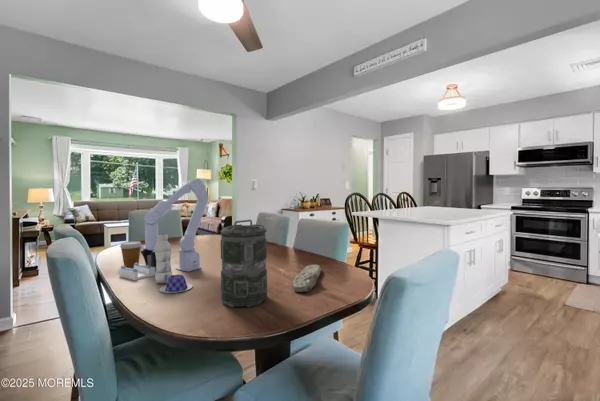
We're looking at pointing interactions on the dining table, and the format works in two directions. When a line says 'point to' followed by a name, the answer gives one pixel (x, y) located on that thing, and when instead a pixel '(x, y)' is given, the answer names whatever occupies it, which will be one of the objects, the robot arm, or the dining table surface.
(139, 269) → the white blue cradle
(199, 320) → the dining table surface
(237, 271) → the canister
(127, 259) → the disposable coffee cup
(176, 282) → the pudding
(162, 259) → the plastic bottle
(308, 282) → the long grey stone
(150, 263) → the cord plug
